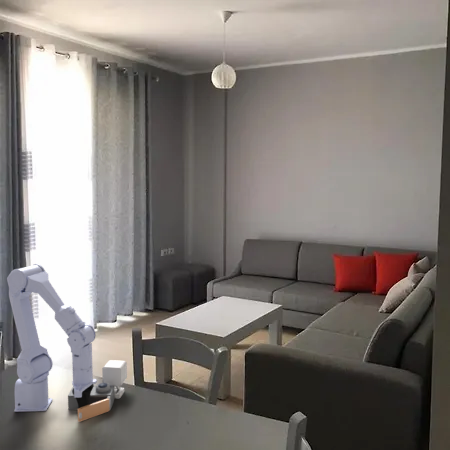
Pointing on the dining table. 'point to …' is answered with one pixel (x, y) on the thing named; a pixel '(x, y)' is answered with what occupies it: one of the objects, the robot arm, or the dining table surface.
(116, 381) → the security camera
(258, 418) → the dining table surface
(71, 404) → the housing
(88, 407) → the hatch
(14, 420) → the dining table surface
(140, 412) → the dining table surface
